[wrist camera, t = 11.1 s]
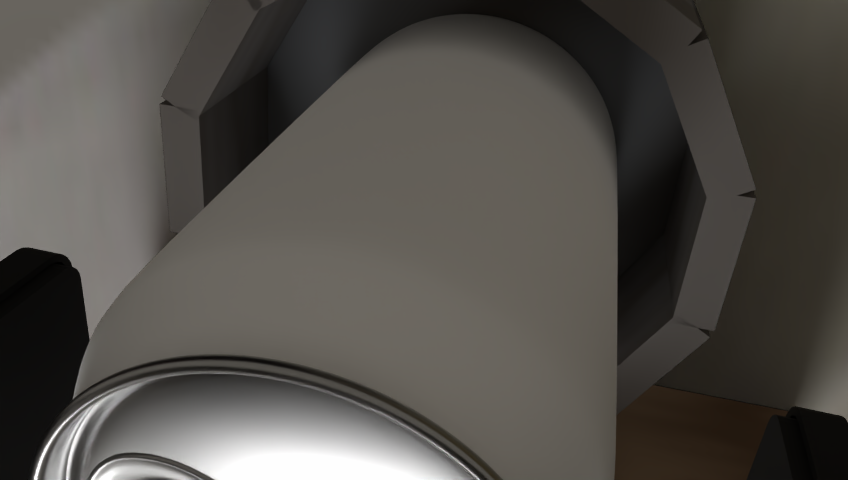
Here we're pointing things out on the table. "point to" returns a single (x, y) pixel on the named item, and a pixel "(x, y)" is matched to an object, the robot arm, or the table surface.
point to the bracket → (636, 175)
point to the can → (380, 288)
